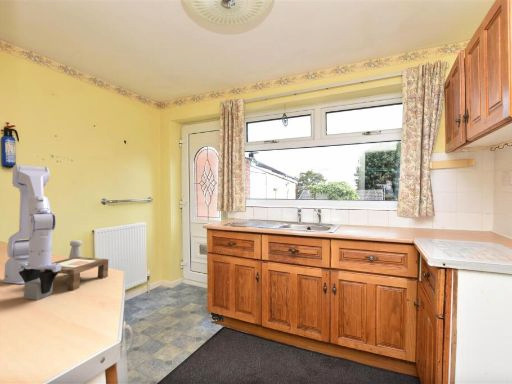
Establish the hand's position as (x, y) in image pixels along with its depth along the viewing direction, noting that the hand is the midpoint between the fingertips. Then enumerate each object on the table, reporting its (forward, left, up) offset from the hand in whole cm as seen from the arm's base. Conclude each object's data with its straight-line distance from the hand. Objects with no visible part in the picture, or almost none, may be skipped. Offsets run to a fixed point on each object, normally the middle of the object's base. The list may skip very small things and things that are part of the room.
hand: (38, 291), depth 82 cm
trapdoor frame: (-2, +15, -2) cm, 15 cm away
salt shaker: (-14, +27, -2) cm, 30 cm away
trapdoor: (-2, +15, +5) cm, 16 cm away
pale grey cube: (0, 0, -1) cm, 1 cm away
